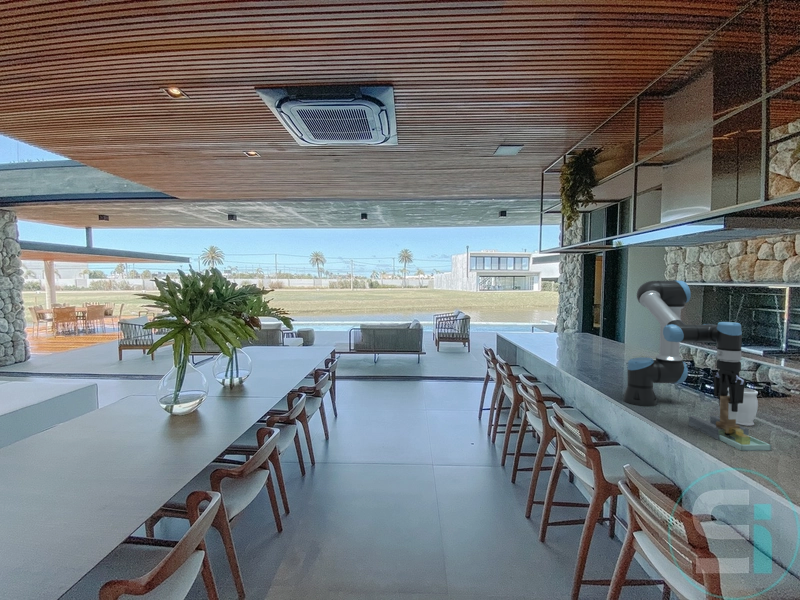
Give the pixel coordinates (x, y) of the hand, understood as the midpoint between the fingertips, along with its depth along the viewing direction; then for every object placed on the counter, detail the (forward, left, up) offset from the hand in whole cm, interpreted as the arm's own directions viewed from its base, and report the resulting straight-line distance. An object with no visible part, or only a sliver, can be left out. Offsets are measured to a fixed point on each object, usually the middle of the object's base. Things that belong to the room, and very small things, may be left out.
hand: (727, 417), depth 156 cm
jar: (-16, +20, -9) cm, 27 cm away
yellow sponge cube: (+5, 0, -6) cm, 8 cm away
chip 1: (+4, 0, -6) cm, 8 cm away
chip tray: (+8, 0, -8) cm, 11 cm away
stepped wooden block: (0, 0, -6) cm, 6 cm away
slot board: (-5, 0, -8) cm, 10 cm away
